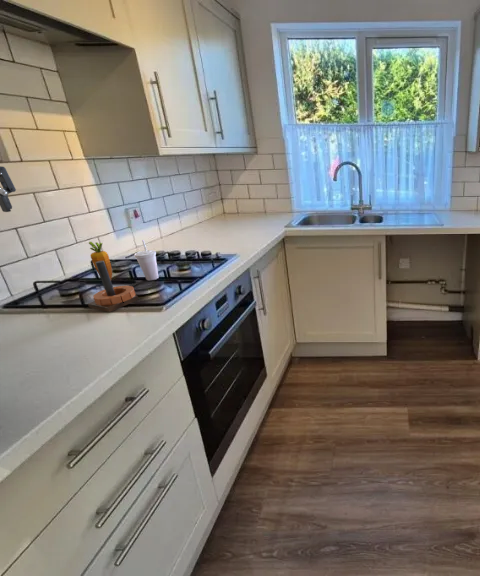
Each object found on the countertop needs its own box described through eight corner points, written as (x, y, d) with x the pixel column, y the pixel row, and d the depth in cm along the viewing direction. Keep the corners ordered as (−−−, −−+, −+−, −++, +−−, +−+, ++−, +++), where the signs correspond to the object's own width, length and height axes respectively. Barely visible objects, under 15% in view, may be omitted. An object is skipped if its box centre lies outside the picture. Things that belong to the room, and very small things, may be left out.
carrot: (120, 281, 126) (106, 240, 120) (105, 286, 122) (90, 244, 116) (112, 279, 128) (98, 238, 122) (97, 284, 124) (81, 242, 118)
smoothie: (166, 277, 129) (155, 239, 123) (147, 283, 124) (135, 244, 118) (157, 274, 132) (146, 237, 127) (138, 279, 127) (126, 241, 122)
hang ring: (110, 307, 103) (107, 301, 103) (87, 302, 107) (85, 296, 106) (142, 293, 112) (141, 288, 111) (121, 289, 115) (119, 284, 115)
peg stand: (109, 312, 104) (93, 268, 98) (89, 308, 107) (72, 265, 101) (139, 299, 111) (125, 258, 106) (119, 296, 114) (105, 255, 109)
